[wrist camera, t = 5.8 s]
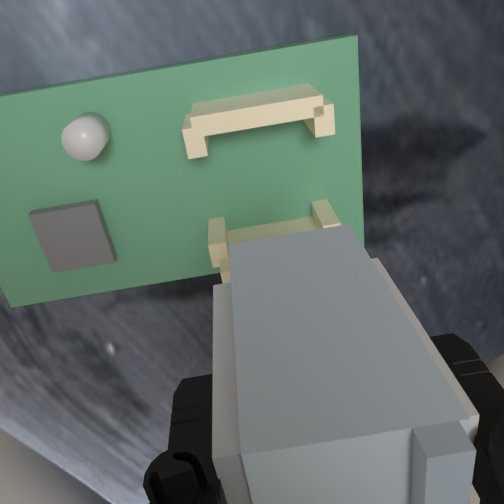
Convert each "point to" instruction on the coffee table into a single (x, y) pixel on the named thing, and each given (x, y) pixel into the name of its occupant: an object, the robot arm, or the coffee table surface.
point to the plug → (338, 381)
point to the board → (175, 167)
